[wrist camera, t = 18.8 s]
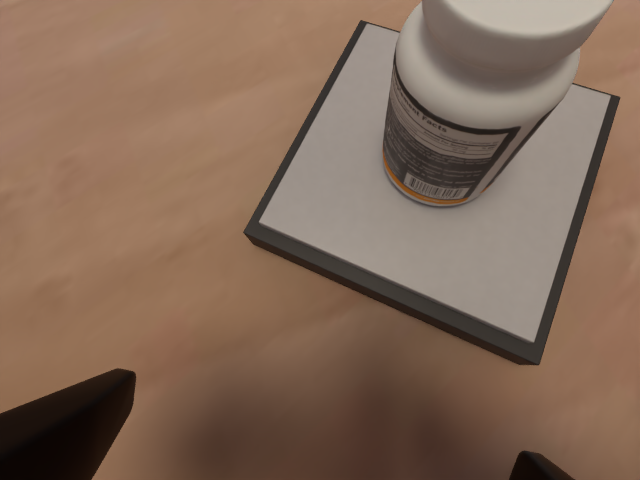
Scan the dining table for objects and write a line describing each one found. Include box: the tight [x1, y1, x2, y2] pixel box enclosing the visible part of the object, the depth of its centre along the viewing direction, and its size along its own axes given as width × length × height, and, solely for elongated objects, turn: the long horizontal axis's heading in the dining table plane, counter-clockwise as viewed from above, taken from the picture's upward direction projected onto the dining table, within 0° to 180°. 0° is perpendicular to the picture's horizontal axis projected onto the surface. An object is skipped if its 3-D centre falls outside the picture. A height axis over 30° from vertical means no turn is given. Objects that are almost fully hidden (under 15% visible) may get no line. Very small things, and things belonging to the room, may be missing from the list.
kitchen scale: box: [243, 20, 620, 365], centre depth 20 cm, size 15×16×3 cm
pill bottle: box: [382, 0, 614, 206], centre depth 14 cm, size 6×6×10 cm
